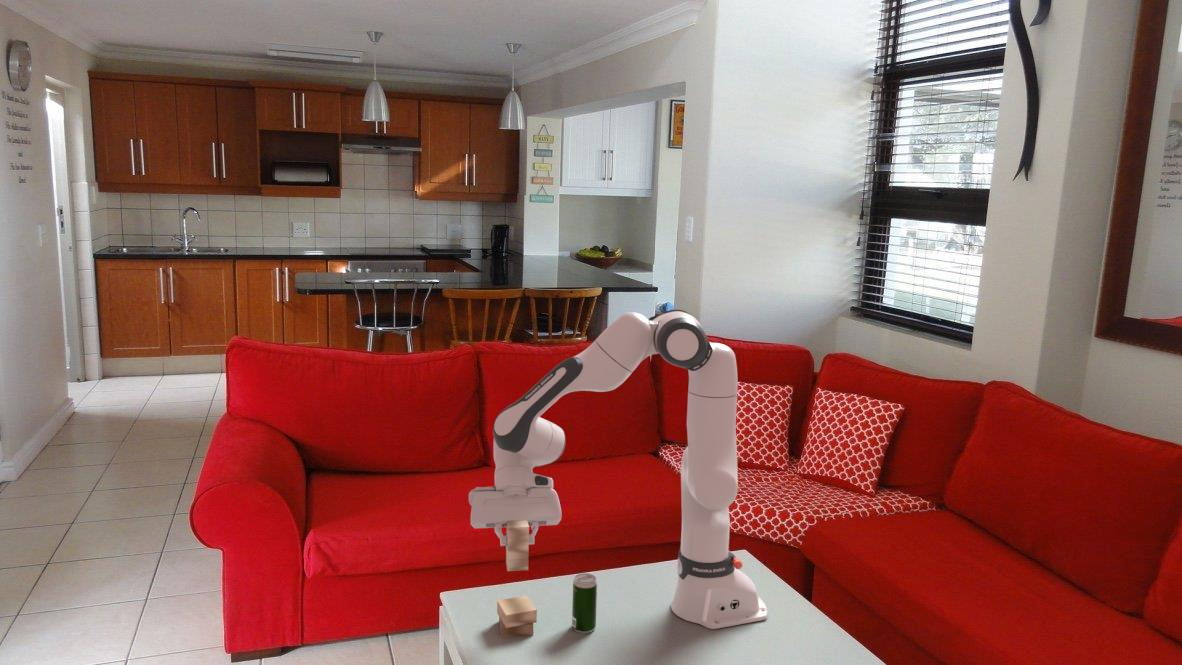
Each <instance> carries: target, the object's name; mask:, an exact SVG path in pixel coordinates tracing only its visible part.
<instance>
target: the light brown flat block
mask: <svg viewBox="0 0 1182 665" xmlns="http://www.w3.org/2000/svg"><path fill="white" fill-rule="evenodd" d="M498 619H499V620H498V622H499V630H500V631H499V632H500V637H501V639H502V638H517V637H530V636H531V637H532V636H534V623H531V624H525V625H520V626H514V627H509V628H506V627H505V625H504V624H503V622H502V620H501V618H500V617H498Z"/></svg>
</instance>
